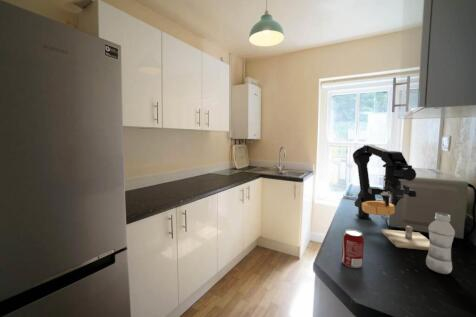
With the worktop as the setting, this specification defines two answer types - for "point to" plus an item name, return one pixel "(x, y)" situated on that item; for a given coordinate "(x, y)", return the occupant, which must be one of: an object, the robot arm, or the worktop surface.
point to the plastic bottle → (440, 244)
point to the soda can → (352, 248)
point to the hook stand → (407, 238)
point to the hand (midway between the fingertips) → (390, 209)
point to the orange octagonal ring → (378, 208)
